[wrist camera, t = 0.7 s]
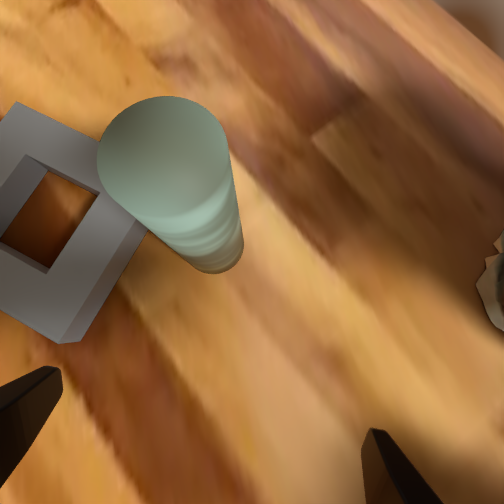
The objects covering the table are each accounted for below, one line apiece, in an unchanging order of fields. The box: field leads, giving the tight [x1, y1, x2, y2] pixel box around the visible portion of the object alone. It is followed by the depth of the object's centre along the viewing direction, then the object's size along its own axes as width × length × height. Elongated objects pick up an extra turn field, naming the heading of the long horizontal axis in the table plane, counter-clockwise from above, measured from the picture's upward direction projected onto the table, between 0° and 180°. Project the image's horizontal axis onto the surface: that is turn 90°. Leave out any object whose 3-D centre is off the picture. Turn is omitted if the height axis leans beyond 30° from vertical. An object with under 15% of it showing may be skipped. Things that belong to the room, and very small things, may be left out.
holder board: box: [0, 101, 148, 344], centre depth 23 cm, size 13×13×2 cm
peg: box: [97, 96, 244, 274], centre depth 17 cm, size 4×4×13 cm
